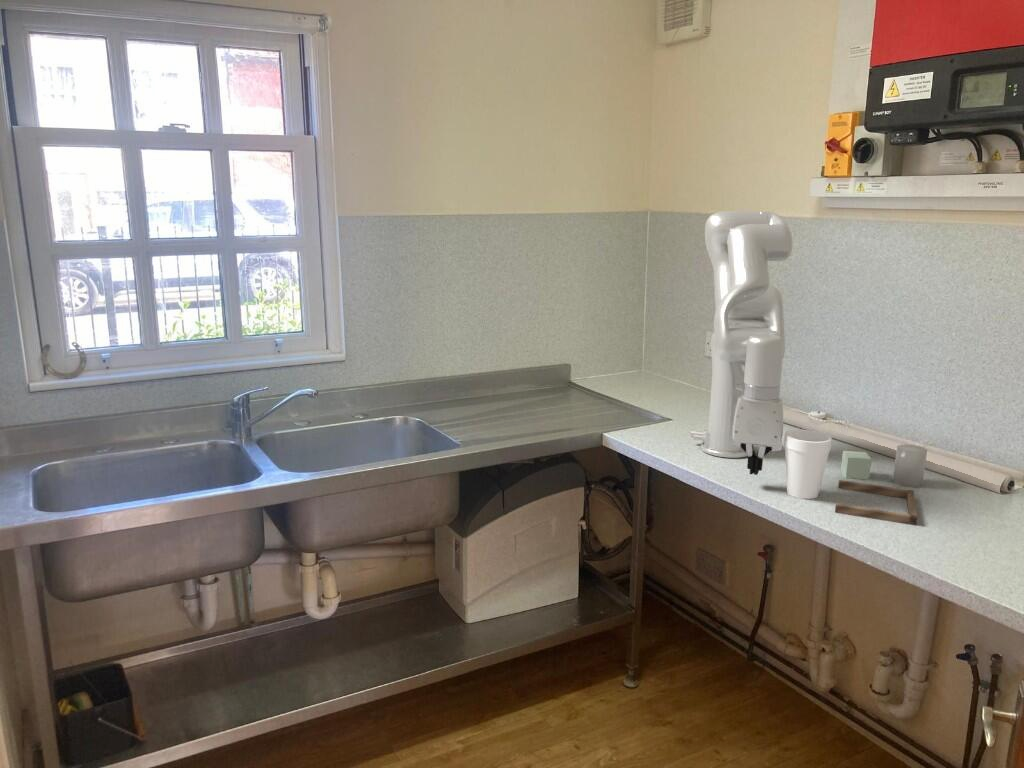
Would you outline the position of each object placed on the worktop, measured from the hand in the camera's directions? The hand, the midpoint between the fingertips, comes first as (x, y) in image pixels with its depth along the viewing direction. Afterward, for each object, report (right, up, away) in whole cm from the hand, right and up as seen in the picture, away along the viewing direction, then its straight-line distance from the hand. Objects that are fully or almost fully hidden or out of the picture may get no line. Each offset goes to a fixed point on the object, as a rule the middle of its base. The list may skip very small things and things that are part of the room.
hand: (754, 472), depth 172 cm
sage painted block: (+26, -2, +9) cm, 27 cm away
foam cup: (+9, -4, -3) cm, 11 cm away
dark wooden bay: (+22, -6, -9) cm, 24 cm away
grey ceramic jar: (+36, -3, +4) cm, 36 cm away
